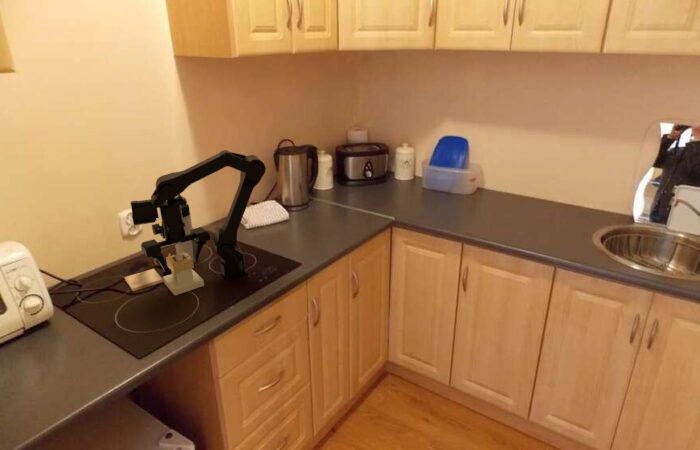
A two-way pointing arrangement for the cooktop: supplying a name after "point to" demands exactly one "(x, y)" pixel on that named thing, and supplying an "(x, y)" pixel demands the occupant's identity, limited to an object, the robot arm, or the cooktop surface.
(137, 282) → the pad
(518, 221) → the cooktop surface
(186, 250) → the travel mug
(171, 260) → the collar
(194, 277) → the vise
